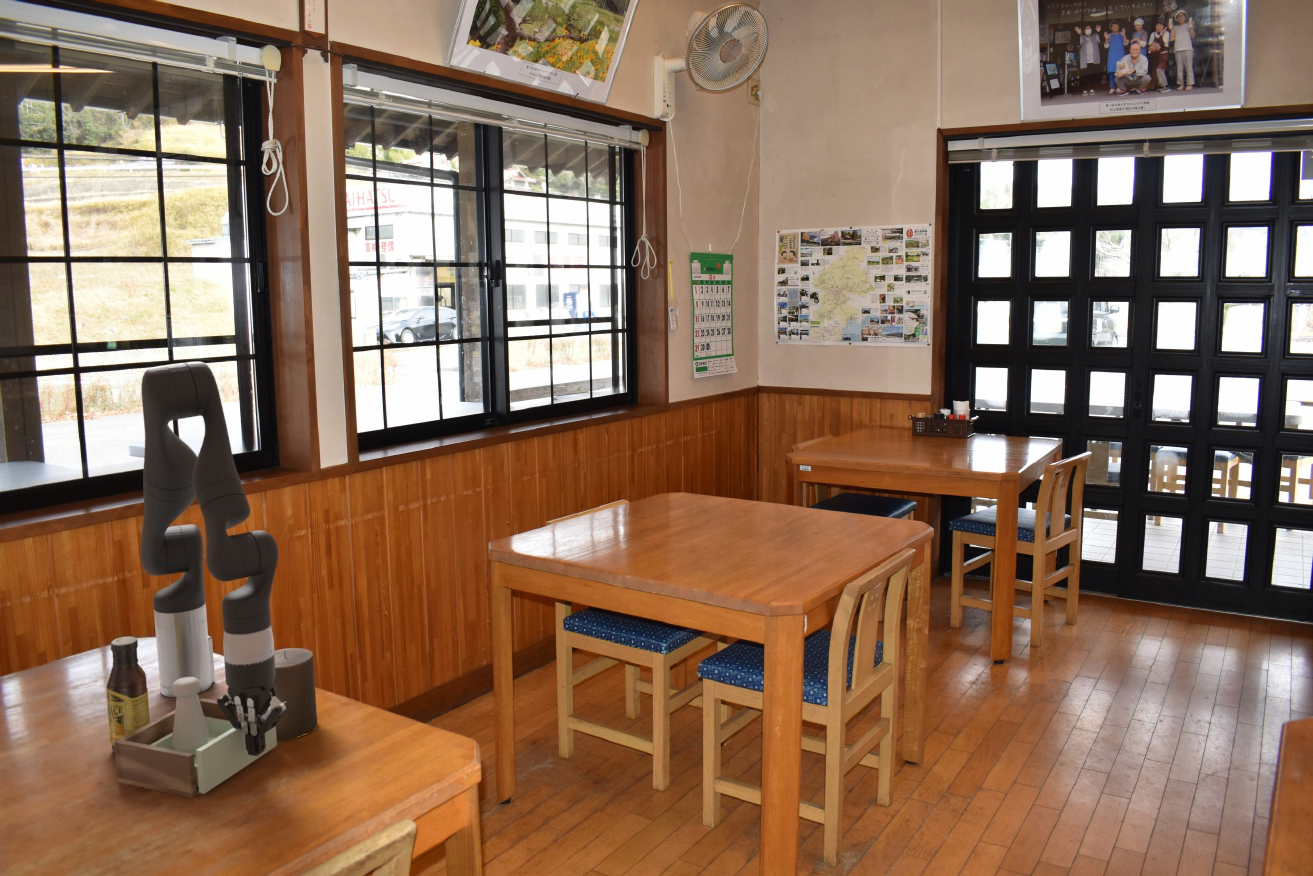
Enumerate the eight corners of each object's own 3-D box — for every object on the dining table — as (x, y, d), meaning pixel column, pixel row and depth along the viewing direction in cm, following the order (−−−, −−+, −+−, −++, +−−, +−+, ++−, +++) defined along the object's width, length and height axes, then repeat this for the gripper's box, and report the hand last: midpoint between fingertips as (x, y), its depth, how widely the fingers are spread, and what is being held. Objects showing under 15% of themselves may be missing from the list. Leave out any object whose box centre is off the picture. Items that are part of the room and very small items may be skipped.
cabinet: (200, 734, 176) (198, 697, 175) (269, 746, 172) (267, 709, 171) (118, 782, 160) (114, 742, 158) (192, 798, 155) (188, 756, 154)
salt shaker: (215, 753, 166) (210, 680, 163) (179, 764, 162) (173, 690, 159) (202, 741, 170) (197, 670, 168) (167, 752, 166) (161, 679, 164)
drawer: (207, 732, 175) (204, 694, 174) (277, 745, 171) (274, 706, 169) (129, 778, 159) (126, 737, 158) (204, 793, 155) (201, 751, 153)
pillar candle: (322, 732, 177) (318, 653, 175) (265, 745, 172) (260, 664, 170) (310, 713, 185) (306, 637, 183) (255, 725, 180) (250, 647, 178)
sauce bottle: (105, 748, 171) (95, 639, 168) (143, 735, 176) (134, 630, 172) (119, 760, 167) (109, 649, 163) (158, 747, 171) (148, 639, 168)
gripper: (298, 650, 160) (304, 749, 163) (232, 640, 164) (239, 737, 167) (267, 667, 153) (274, 770, 156) (199, 657, 157) (206, 758, 160)
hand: (256, 753), depth 161 cm, fingers closed
